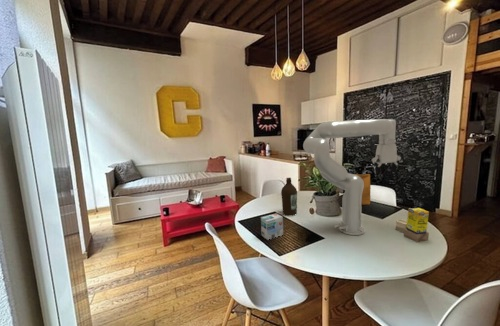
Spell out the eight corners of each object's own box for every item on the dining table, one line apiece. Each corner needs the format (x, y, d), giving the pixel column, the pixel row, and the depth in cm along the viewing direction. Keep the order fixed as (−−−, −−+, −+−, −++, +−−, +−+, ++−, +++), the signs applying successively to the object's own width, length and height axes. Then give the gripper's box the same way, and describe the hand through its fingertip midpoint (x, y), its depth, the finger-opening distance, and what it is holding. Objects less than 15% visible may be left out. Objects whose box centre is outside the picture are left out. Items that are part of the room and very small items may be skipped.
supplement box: (416, 234, 108) (418, 212, 106) (405, 228, 114) (408, 208, 112) (426, 233, 109) (429, 211, 107) (416, 227, 114) (418, 207, 113)
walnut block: (416, 242, 108) (417, 235, 107) (403, 236, 114) (404, 229, 114) (428, 240, 109) (428, 232, 109) (414, 234, 116) (415, 227, 115)
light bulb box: (267, 240, 118) (266, 221, 116) (261, 235, 124) (260, 217, 122) (284, 235, 123) (283, 216, 121) (277, 230, 128) (276, 212, 127)
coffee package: (350, 200, 173) (351, 172, 170) (368, 201, 169) (369, 172, 166) (352, 204, 164) (352, 175, 161) (371, 205, 160) (372, 175, 157)
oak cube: (405, 233, 117) (405, 224, 117) (395, 229, 122) (396, 220, 121) (411, 231, 119) (411, 222, 119) (401, 227, 124) (402, 219, 123)
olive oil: (278, 213, 154) (277, 178, 150) (288, 209, 161) (287, 175, 157) (291, 217, 146) (290, 180, 143) (300, 212, 153) (299, 177, 150)
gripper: (395, 141, 127) (394, 170, 129) (368, 143, 124) (367, 173, 127) (406, 141, 120) (405, 172, 122) (377, 143, 117) (376, 175, 120)
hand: (386, 173), depth 125 cm, fingers open, 9 cm apart
